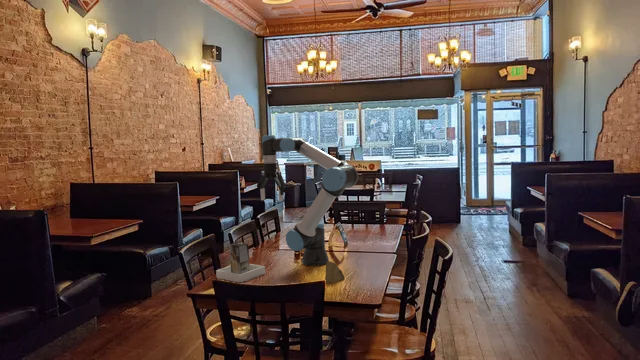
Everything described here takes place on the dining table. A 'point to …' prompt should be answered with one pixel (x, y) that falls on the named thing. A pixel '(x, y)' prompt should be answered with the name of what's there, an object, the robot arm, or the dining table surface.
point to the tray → (227, 275)
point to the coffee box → (239, 258)
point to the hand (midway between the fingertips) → (272, 200)
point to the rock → (333, 273)
